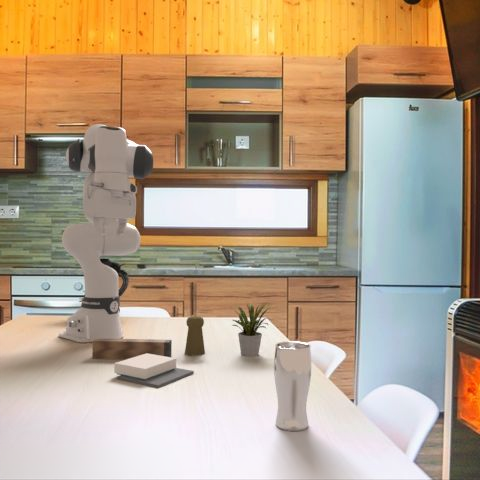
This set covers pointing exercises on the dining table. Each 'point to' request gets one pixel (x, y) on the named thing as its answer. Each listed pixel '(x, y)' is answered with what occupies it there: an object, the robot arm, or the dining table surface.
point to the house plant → (250, 330)
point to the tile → (145, 366)
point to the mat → (160, 378)
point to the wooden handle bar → (129, 348)
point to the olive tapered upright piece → (195, 336)
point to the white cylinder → (120, 273)
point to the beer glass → (292, 384)
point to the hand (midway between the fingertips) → (110, 235)
